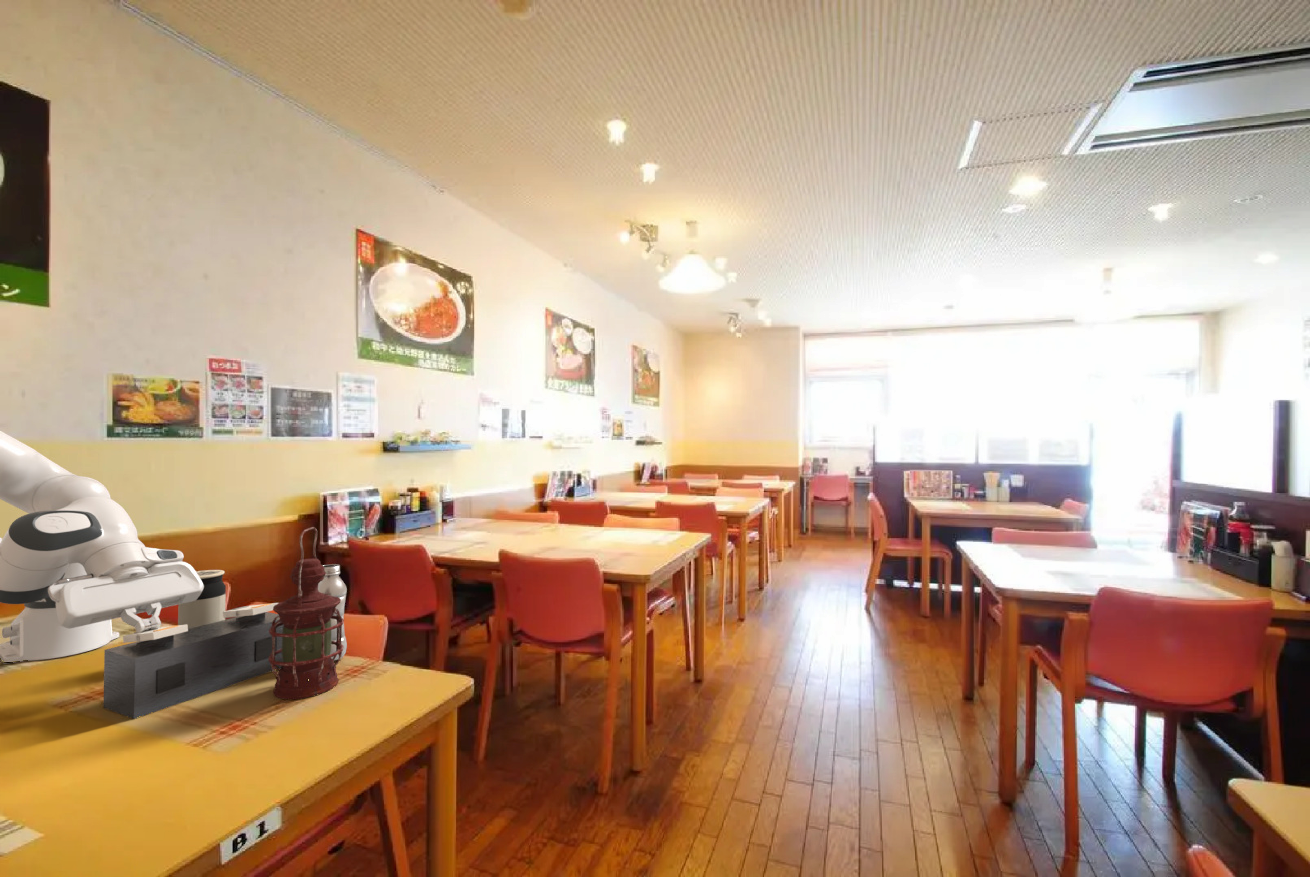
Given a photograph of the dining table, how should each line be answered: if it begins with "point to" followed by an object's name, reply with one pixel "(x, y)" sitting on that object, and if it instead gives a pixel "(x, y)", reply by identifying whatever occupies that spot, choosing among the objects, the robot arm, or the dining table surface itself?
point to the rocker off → (249, 610)
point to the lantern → (306, 634)
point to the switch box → (188, 664)
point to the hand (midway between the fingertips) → (150, 629)
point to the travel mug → (205, 601)
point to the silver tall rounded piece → (337, 589)
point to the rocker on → (155, 633)
